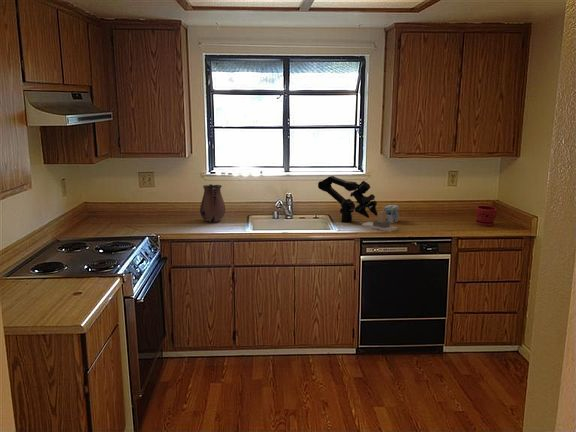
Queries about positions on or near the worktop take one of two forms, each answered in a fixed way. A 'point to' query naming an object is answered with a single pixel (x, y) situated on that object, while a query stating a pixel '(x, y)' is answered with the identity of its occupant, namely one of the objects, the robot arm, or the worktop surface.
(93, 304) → the worktop surface
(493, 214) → the plant pot
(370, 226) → the marked board
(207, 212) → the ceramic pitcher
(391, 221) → the light bulb box
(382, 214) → the sanding block
